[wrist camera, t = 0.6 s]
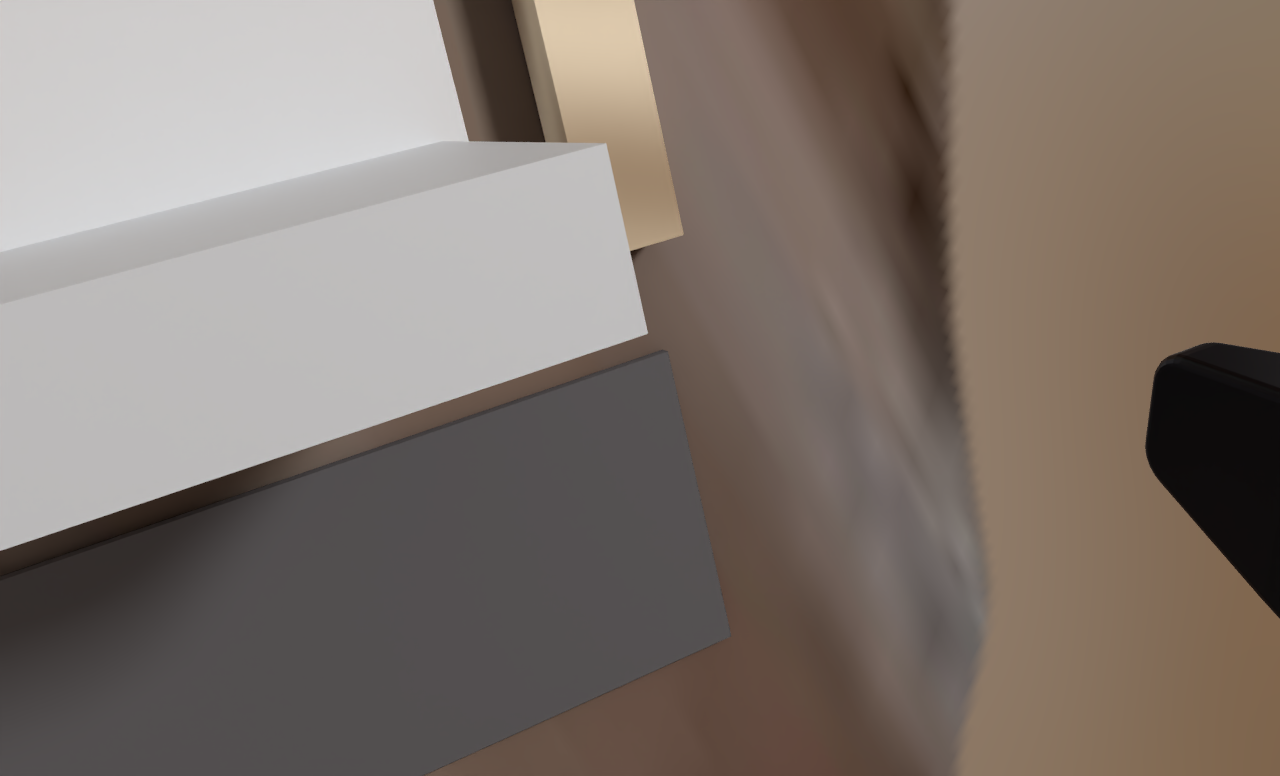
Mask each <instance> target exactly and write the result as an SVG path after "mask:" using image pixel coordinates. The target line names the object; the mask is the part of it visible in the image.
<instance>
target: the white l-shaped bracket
mask: <svg viewBox="0 0 1280 776" xmlns="http://www.w3.org/2000/svg"><path fill="white" fill-rule="evenodd" d="M645 334H648V332H647V327H646V323H645V318H644V313H643V309H642V304H641V300H640V295H639V291H638V286H637V281H636V277H635V272H634V268H633V263H632V259H631V254H630V249H629V245H628V240H627V236H626V231H625V227H624V222H623V217H622V213H621V208H620V204H619V199H618V195H617V190H616V185H615V181H614V176H613V172H612V167H611V162H610V158H609V153H608V149H607V144H606V143H550V142H469V141H468V137H467V133H466V129H465V125H464V121H463V117H462V113H461V109H460V105H459V101H458V97H457V93H456V89H455V86H454V82H453V78H452V74H451V70H450V66H449V62H448V58H447V54H446V50H445V46H444V42H443V38H442V34H441V30H440V26H439V22H438V19H437V15H436V11H435V7H434V3H433V0H0V551H1V550H4V549H7V548H10V547H13V546H16V545H19V544H22V543H25V542H28V541H31V540H34V539H37V538H40V537H43V536H46V535H49V534H52V533H55V532H58V531H61V530H64V529H67V528H70V527H73V526H76V525H79V524H82V523H85V522H88V521H91V520H94V519H97V518H100V517H103V516H106V515H109V514H112V513H115V512H118V511H121V510H124V509H127V508H130V507H133V506H136V505H139V504H142V503H145V502H148V501H151V500H154V499H156V498H159V497H162V496H165V495H168V494H171V493H174V492H177V491H180V490H183V489H186V488H189V487H192V486H195V485H198V484H201V483H204V482H207V481H210V480H213V479H216V478H219V477H222V476H225V475H228V474H231V473H234V472H237V471H240V470H243V469H246V468H249V467H252V466H255V465H258V464H261V463H264V462H267V461H270V460H273V459H276V458H279V457H282V456H285V455H288V454H291V453H294V452H297V451H300V450H303V449H306V448H309V447H312V446H314V445H317V444H320V443H323V442H326V441H329V440H332V439H335V438H338V437H341V436H344V435H347V434H350V433H353V432H356V431H359V430H362V429H365V428H368V427H371V426H374V425H377V424H380V423H383V422H386V421H389V420H392V419H395V418H398V417H401V416H404V415H407V414H410V413H413V412H416V411H419V410H422V409H425V408H428V407H431V406H434V405H437V404H440V403H443V402H446V401H449V400H452V399H455V398H458V397H461V396H464V395H467V394H470V393H473V392H475V391H478V390H481V389H484V388H487V387H490V386H493V385H496V384H499V383H502V382H505V381H508V380H511V379H514V378H517V377H520V376H523V375H526V374H529V373H532V372H535V371H538V370H541V369H544V368H547V367H550V366H553V365H556V364H559V363H562V362H565V361H568V360H571V359H574V358H577V357H580V356H583V355H586V354H589V353H592V352H595V351H598V350H601V349H604V348H607V347H610V346H613V345H616V344H619V343H622V342H625V341H628V340H631V339H633V338H636V337H639V336H642V335H645Z"/></svg>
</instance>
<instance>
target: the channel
mask: <svg viewBox="0 0 1280 776" xmlns="http://www.w3.org/2000/svg"><path fill="white" fill-rule="evenodd" d="M511 1H512V5H513V9H514V13H515V17H516V21H517V26H518V30H519V34H520V38H521V42H522V46H523V50H524V55H525V59H526V63H527V67H528V71H529V75H530V79H531V84H532V88H533V92H534V96H535V100H536V104H537V108H538V113H539V117H540V121H541V125H542V129H543V133H544V137H545V142H550V143H606V144H607V149H608V153H609V158H610V162H611V167H612V172H613V176H614V181H615V185H616V190H617V195H618V199H619V204H620V208H621V213H622V217H623V222H624V227H625V231H626V236H627V240H628V245H629V249H630V251H632V250H635V249H639V248H642V247H645V246H648V245H652V244H655V243H658V242H662V241H665V240H668V239H671V238H675V237H678V236H681V235H684V234H683V229H682V224H681V220H680V215H679V210H678V206H677V201H676V196H675V192H674V187H673V182H672V177H671V173H670V168H669V163H668V159H667V154H666V149H665V145H664V140H663V135H662V131H661V126H660V121H659V116H658V112H657V107H656V102H655V98H654V93H653V88H652V84H651V79H650V74H649V70H648V65H647V60H646V55H645V51H644V46H643V41H642V37H641V32H640V27H639V23H638V18H637V13H636V9H635V4H634V0H511Z"/></svg>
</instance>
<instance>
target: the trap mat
mask: <svg viewBox="0 0 1280 776" xmlns="http://www.w3.org/2000/svg"><path fill="white" fill-rule="evenodd" d="M728 637H731V633H730V628H729V624H728V619H727V615H726V610H725V606H724V601H723V597H722V593H721V588H720V584H719V579H718V575H717V570H716V566H715V561H714V557H713V552H712V548H711V543H710V539H709V534H708V530H707V525H706V521H705V516H704V512H703V507H702V503H701V499H700V494H699V490H698V485H697V481H696V476H695V472H694V467H693V463H692V458H691V454H690V449H689V445H688V440H687V436H686V431H685V427H684V422H683V418H682V413H681V409H680V405H679V400H678V396H677V391H676V387H675V382H674V378H673V373H672V369H671V364H670V360H669V355H668V351H665V350H660V351H657V352H655V353H652V354H649V355H646V356H643V357H640V358H637V359H634V360H631V361H628V362H625V363H622V364H620V365H617V366H614V367H611V368H608V369H605V370H602V371H599V372H596V373H593V374H590V375H587V376H584V377H582V378H579V379H576V380H573V381H570V382H567V383H564V384H561V385H558V386H555V387H552V388H549V389H547V390H544V391H541V392H538V393H535V394H532V395H529V396H526V397H523V398H520V399H517V400H514V401H511V402H509V403H506V404H503V405H500V406H497V407H494V408H491V409H488V410H485V411H482V412H479V413H476V414H474V415H471V416H468V417H465V418H462V419H459V420H456V421H453V422H450V423H447V424H444V425H441V426H438V427H436V428H433V429H430V430H427V431H424V432H421V433H418V434H415V435H412V436H409V437H406V438H403V439H401V440H398V441H395V442H392V443H389V444H386V445H383V446H380V447H377V448H374V449H371V450H368V451H365V452H363V453H360V454H357V455H354V456H351V457H348V458H345V459H342V460H339V461H336V462H333V463H330V464H328V465H325V466H322V467H319V468H316V469H313V470H310V471H307V472H304V473H301V474H298V475H295V476H292V477H290V478H287V479H284V480H281V481H278V482H275V483H272V484H269V485H266V486H263V487H260V488H257V489H255V490H252V491H249V492H246V493H243V494H240V495H237V496H234V497H231V498H228V499H225V500H222V501H219V502H217V503H214V504H211V505H208V506H205V507H202V508H199V509H196V510H193V511H190V512H187V513H184V514H182V515H179V516H176V517H173V518H170V519H167V520H164V521H161V522H158V523H155V524H152V525H149V526H146V527H144V528H141V529H138V530H135V531H132V532H129V533H126V534H123V535H120V536H117V537H114V538H111V539H109V540H106V541H103V542H100V543H97V544H94V545H91V546H88V547H85V548H82V549H79V550H76V551H73V552H71V553H68V554H65V555H62V556H59V557H56V558H53V559H50V560H47V561H44V562H41V563H38V564H36V565H33V566H30V567H27V568H24V569H21V570H18V571H15V572H12V573H9V574H6V575H3V576H0V776H423V775H425V774H428V773H430V772H432V771H434V770H436V769H439V768H441V767H443V766H445V765H447V764H450V763H452V762H454V761H456V760H458V759H461V758H463V757H465V756H467V755H470V754H472V753H474V752H476V751H478V750H481V749H483V748H485V747H487V746H489V745H492V744H494V743H496V742H498V741H501V740H503V739H505V738H507V737H509V736H512V735H514V734H516V733H518V732H520V731H523V730H525V729H527V728H529V727H531V726H534V725H536V724H538V723H540V722H543V721H545V720H547V719H549V718H551V717H554V716H556V715H558V714H560V713H562V712H565V711H567V710H569V709H571V708H573V707H576V706H578V705H580V704H582V703H585V702H587V701H589V700H591V699H593V698H596V697H598V696H600V695H602V694H604V693H607V692H609V691H611V690H613V689H616V688H618V687H620V686H622V685H624V684H627V683H629V682H631V681H633V680H635V679H638V678H640V677H642V676H644V675H646V674H649V673H651V672H653V671H655V670H658V669H660V668H662V667H664V666H666V665H669V664H671V663H673V662H675V661H677V660H680V659H682V658H684V657H686V656H689V655H691V654H693V653H695V652H697V651H700V650H702V649H704V648H706V647H708V646H711V645H713V644H715V643H717V642H719V641H722V640H724V639H726V638H728Z"/></svg>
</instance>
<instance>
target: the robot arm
mask: <svg viewBox="0 0 1280 776" xmlns="http://www.w3.org/2000/svg"><path fill="white" fill-rule="evenodd" d="M1145 449H1146V456H1147V459H1148V462H1149V465H1150V467H1151V469H1152V471H1153V473H1154V474H1155V476H1156V477H1157V478H1158V480H1159V481H1160V482H1161V483H1162V484H1163V486H1164V487H1165V488H1166V489H1167V490H1168V491H1169V493H1170V494H1171V495H1172V496H1173V497H1174V498H1175V499H1176V501H1177V502H1178V503H1179V504H1180V505H1181V506H1182V507H1183V509H1184V510H1185V511H1186V512H1187V513H1188V514H1189V516H1190V517H1191V518H1192V519H1193V520H1194V521H1195V522H1196V524H1197V525H1198V526H1199V527H1200V528H1201V529H1202V531H1204V533H1205V534H1206V535H1207V536H1208V538H1209V539H1210V540H1211V541H1212V542H1213V543H1214V544H1215V545H1216V546H1217V548H1218V549H1219V550H1220V551H1221V552H1222V554H1223V555H1224V556H1225V557H1226V558H1227V559H1228V561H1229V562H1230V563H1231V564H1232V565H1233V566H1234V567H1235V569H1236V570H1237V571H1238V572H1239V573H1240V574H1241V575H1242V577H1243V578H1244V579H1245V580H1246V581H1247V582H1248V584H1249V585H1250V586H1251V587H1252V588H1253V589H1254V591H1255V592H1256V593H1257V594H1258V595H1259V596H1260V597H1261V599H1262V600H1263V601H1264V602H1265V603H1266V604H1267V605H1268V606H1269V607H1270V608H1271V610H1272V611H1273V612H1274V613H1275V614H1276V615H1277V616H1278V617H1279V618H1280V353H1276V352H1270V351H1265V350H1258V349H1252V348H1247V347H1240V346H1235V345H1228V344H1223V343H1204V344H1201V345H1198V346H1195V347H1192V348H1190V349H1187V350H1184V351H1182V352H1178V353H1176V354H1173V355H1170V356H1168V357H1167V358H1165V359H1164V360H1163V361H1161V363H1160V365H1159V366H1158V368H1157V370H1156V371H1155V375H1154V381H1153V389H1152V397H1151V404H1150V412H1149V420H1148V427H1147V435H1146V445H1145Z"/></svg>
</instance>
